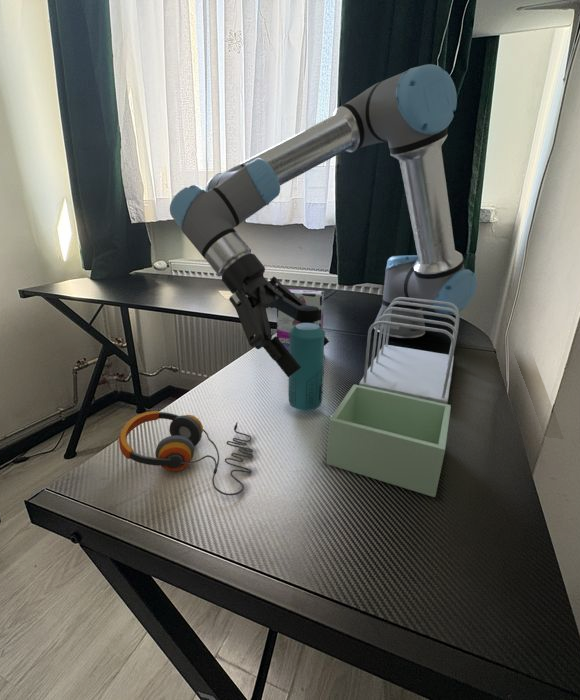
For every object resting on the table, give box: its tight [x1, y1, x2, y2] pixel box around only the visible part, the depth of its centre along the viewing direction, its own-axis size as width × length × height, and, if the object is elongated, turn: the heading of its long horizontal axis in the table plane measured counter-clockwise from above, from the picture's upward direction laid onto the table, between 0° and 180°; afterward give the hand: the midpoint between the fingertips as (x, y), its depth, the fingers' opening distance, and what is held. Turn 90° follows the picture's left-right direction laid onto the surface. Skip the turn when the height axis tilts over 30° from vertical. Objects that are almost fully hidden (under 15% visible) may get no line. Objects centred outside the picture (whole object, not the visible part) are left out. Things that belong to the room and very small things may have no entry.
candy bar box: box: [276, 288, 325, 352], centre depth 94 cm, size 11×5×16 cm, turn 78°
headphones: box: [118, 410, 254, 496], centre depth 57 cm, size 17×5×20 cm
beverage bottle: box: [287, 305, 326, 411], centre depth 68 cm, size 6×7×20 cm
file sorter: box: [358, 297, 460, 404], centre depth 83 cm, size 25×17×16 cm
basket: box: [325, 383, 452, 498], centre depth 58 cm, size 13×16×8 cm
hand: (310, 358), depth 67 cm, fingers open, 13 cm apart
